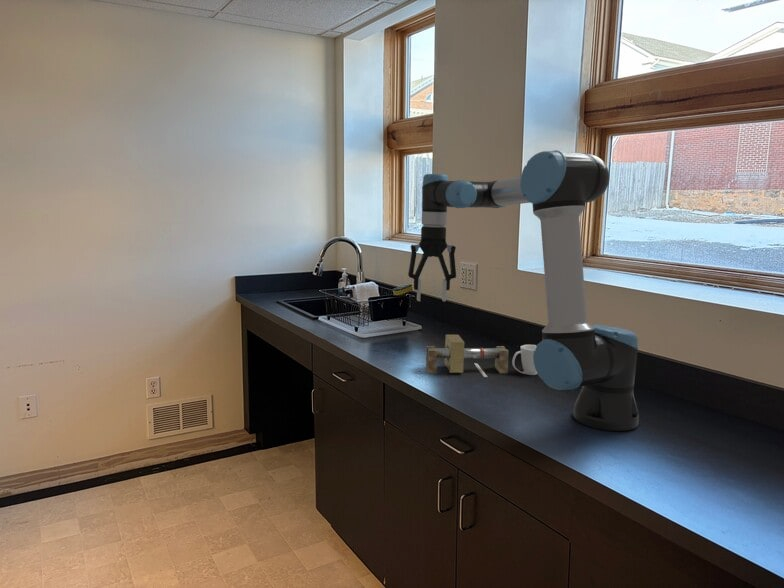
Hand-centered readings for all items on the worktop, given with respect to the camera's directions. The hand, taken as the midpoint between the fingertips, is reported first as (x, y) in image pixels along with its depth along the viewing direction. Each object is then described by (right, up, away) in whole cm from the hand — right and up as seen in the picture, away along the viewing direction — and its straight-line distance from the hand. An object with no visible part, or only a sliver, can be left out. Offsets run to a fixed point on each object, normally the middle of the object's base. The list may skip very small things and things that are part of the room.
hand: (431, 300), depth 186 cm
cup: (+29, -23, -1) cm, 37 cm away
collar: (+7, -22, 0) cm, 23 cm away
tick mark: (+15, -22, +1) cm, 27 cm away
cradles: (+11, -22, 0) cm, 24 cm away
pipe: (+11, -18, 0) cm, 21 cm away
